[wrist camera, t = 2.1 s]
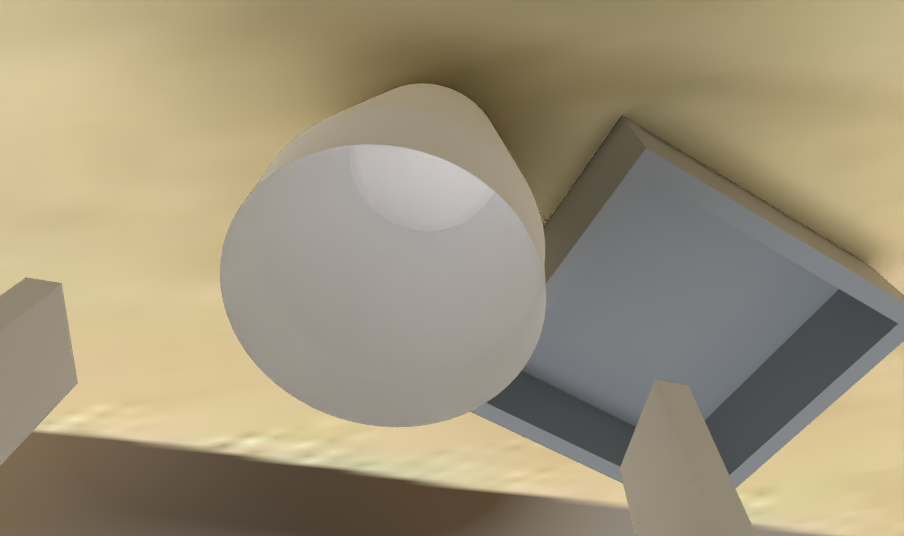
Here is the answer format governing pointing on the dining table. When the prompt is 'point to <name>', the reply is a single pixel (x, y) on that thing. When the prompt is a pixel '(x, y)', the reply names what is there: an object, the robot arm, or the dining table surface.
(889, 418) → the dining table surface
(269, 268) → the cup
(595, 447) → the bin
